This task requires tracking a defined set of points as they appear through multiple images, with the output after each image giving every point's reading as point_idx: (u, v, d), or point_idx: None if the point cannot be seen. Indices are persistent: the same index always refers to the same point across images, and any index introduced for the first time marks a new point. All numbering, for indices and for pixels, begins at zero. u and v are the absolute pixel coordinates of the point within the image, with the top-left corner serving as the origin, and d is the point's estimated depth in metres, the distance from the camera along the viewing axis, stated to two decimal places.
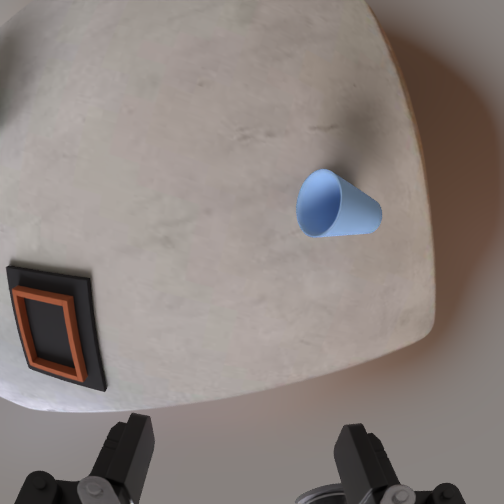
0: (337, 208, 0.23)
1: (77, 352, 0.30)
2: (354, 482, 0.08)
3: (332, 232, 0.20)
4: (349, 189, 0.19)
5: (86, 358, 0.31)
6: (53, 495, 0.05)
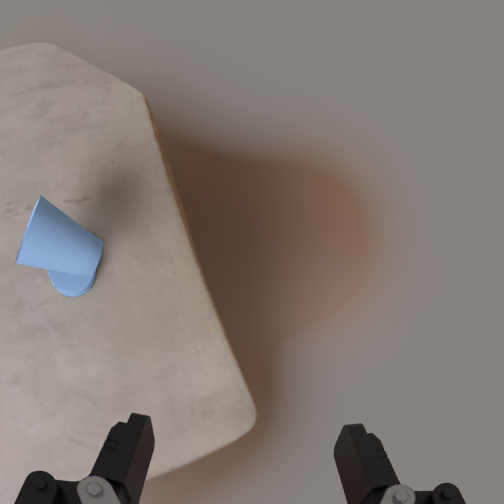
0: None
1: None
2: (354, 482, 0.08)
3: (30, 248, 0.14)
4: (52, 207, 0.16)
5: None
6: (53, 495, 0.05)
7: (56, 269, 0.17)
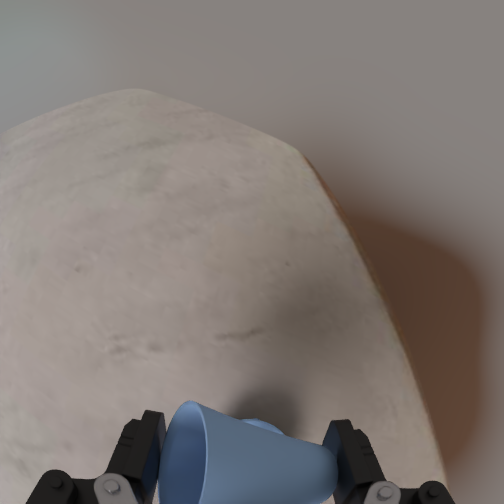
0: None
1: None
2: (340, 478, 0.08)
3: None
4: (240, 443, 0.07)
5: None
6: (70, 493, 0.05)
7: None
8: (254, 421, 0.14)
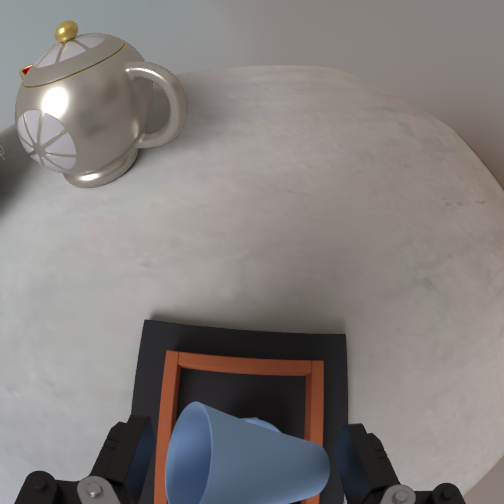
0: None
1: None
2: (355, 482, 0.08)
3: None
4: (240, 439, 0.08)
5: None
6: (53, 495, 0.05)
7: None
8: (253, 420, 0.15)
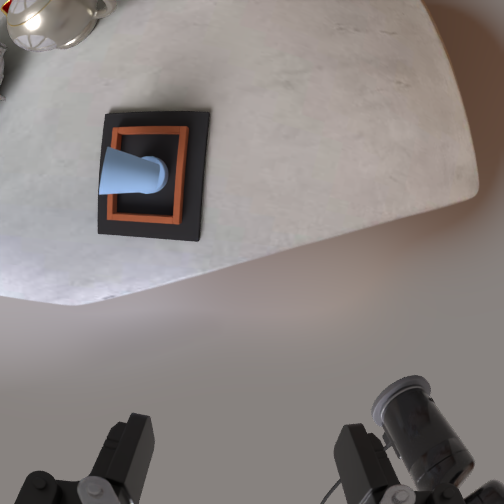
0: None
1: (182, 185, 0.33)
2: (354, 482, 0.08)
3: (105, 189, 0.25)
4: (116, 157, 0.25)
5: (186, 198, 0.35)
6: (53, 495, 0.05)
7: (128, 192, 0.28)
8: (149, 157, 0.32)
